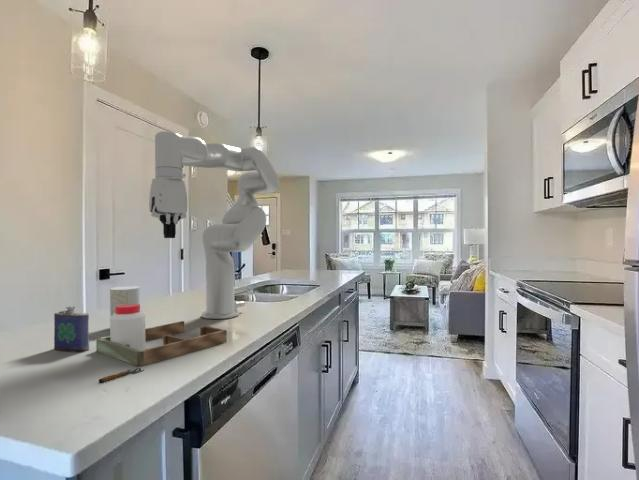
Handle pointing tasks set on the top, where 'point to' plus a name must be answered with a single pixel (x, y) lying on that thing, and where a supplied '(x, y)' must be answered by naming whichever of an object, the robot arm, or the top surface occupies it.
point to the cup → (123, 296)
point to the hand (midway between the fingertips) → (169, 237)
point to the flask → (71, 331)
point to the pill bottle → (128, 326)
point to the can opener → (119, 375)
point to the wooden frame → (170, 344)
